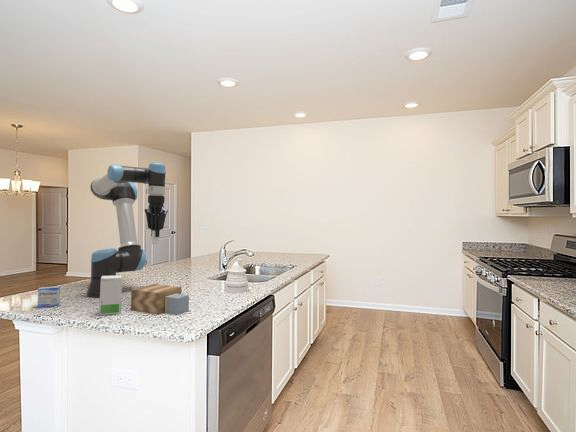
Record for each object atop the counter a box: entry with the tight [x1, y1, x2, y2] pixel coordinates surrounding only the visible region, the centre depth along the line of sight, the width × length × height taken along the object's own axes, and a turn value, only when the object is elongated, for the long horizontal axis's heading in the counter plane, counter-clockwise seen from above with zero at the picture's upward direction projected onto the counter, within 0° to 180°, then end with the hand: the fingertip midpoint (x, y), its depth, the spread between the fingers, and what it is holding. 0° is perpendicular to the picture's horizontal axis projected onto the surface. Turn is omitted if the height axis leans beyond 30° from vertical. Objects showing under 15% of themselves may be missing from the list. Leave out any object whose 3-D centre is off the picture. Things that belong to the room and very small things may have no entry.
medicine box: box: [37, 285, 61, 309], centre depth 153 cm, size 8×4×9 cm, turn 118°
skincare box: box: [98, 275, 123, 316], centre depth 145 cm, size 8×7×16 cm
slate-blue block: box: [164, 293, 190, 316], centre depth 148 cm, size 7×7×7 cm
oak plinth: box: [130, 283, 182, 315], centre depth 154 cm, size 16×14×9 cm
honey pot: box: [224, 258, 249, 295], centre depth 190 cm, size 13×13×18 cm
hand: (155, 243), depth 164 cm, fingers closed
